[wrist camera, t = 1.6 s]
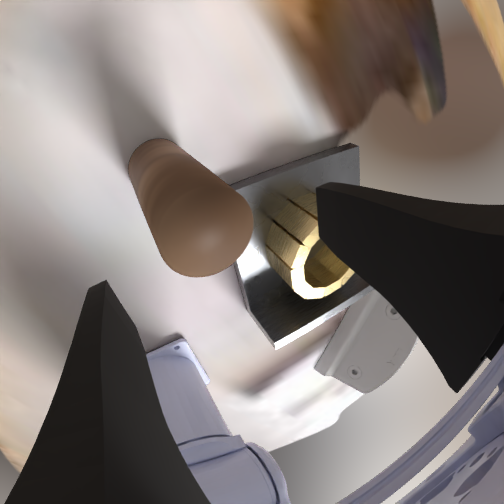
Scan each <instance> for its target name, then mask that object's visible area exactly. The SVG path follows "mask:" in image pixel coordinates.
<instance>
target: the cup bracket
mask: <svg viewBox="0 0 504 504" xmlns="http://www.w3.org/2000/svg"><path fill="white" fill-rule="evenodd" d="M328 182H338V183H346V184H352V185H357V186H360V169H359V146H357V145H355V144H352V143H349V144H345V145H342V146H339V147H336V148H333V149H330V150H327V151H324V152H321V153H318V154H315V155H312V156H309V157H306V158H303V159H300V160H297V161H294V162H291V163H288V164H286V165H283V166H280V167H277V168H274V169H272V170H269V171H266V172H263V173H261V174H258V175H255V176H253V177H250V178H247V179H245V180H242V181H240V182H237V183H234V184H232V185H229V186H230V187H232V188H233V189H234V190H235V191H237V192H238V193H239V194H240V195H242V196H243V197H244V199H245V200H246V201H247V202H248V204H249V206H250V208H251V211H252V214H253V232H252V236H251V239H250V242H249V244H248V246H247V248H246V249H245V251H244V252H243V254H242V255H241V256H240V257H239V258H238V259H237V260H236V261H235V262H234V266H235V270H236V273H237V277H238V280H239V284H240V287H241V291H242V294H243V298H244V301H245V305H246V308H247V311H248V313H249V314H250V316H251V317H252V318H253V320H254V321H255V322H256V324H257V325H258V327H259V328H260V329H261V331H262V332H263V333H264V335H265V336H266V337H267V339H268V340H269V341H270V343H271V344H272V345H273V347H274V348H275V350H277V349H279V348H280V347H282V346H284V345H286V344H288V343H289V342H291V341H293V340H295V339H296V338H298V337H300V336H301V335H303V334H305V333H306V332H308V331H310V330H312V329H313V328H315V327H317V326H318V325H320V324H321V323H323V322H325V321H326V320H328V319H330V318H331V317H333V316H334V315H336V314H338V313H339V312H341V311H342V310H344V309H345V308H347V307H349V306H350V305H352V304H353V303H355V302H356V301H358V300H359V299H361V298H362V297H364V296H365V295H367V294H368V293H370V292H371V291H373V290H374V288H373V287H372V286H370V285H369V284H368V283H367V282H366V281H365V280H363V279H362V278H361V277H360V276H359V275H358V274H356V273H355V272H354V271H353V270H352V269H350V268H349V267H348V266H347V265H346V264H345V263H343V262H342V261H341V260H340V259H339V258H338V257H337V256H336V255H335V254H334V253H333V252H332V251H331V250H330V249H329V248H328V247H327V246H326V244H325V243H324V242H323V241H322V240H321V239H320V238H319V233H318V216H317V201H316V187H318V186H321V185H323V184H326V183H328Z"/></svg>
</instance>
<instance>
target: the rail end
mask: <svg viewBox="0 0 504 504" xmlns="http://www.w3.org/2000/svg"><path fill="white" fill-rule="evenodd" d="M128 172H129V177H130V180H131V183H132V185H133V188H134V190H135V193H136V196H137V198H138V201H139V203H140V206H141V208H142V211H143V213H144V216H145V218H146V221H147V223H148V226H149V228H150V231H151V233H152V235H153V238H154V240H155V242H156V245H157V247H158V249H159V252H160V254H161V256H162V258H163V260H164V261H165V263H166V264H167V265H168V266H169V267H170V268H171V269H172V270H174V271H175V272H177V273H179V274H181V275H184V276H189V277H205V276H210V275H213V274H216V273H219V272H221V271H223V270H224V269H226V268H228V267H229V266H231V265H232V264H233V263H234V262H235V261H236V260H237V259H238V258H239V257H240V256H241V255H242V254H243V252H244V251H245V249H246V248H247V246H248V244H249V242H250V239H251V236H252V232H253V214H252V211H251V208H250V206H249V204H248V202H247V201H246V200H245V199H244V197H243V196H242V195H240V194H239V193H238V192H237V191H235V190H234V189H233V188H232V187H230V186H229V185H228V184H226V183H225V182H224V181H223V180H221V179H220V178H219V177H218V176H216V175H215V174H214V173H212V172H211V171H210V170H209V169H207V168H206V167H205V166H203V165H202V164H201V163H200V162H198V161H197V160H196V159H194V158H193V157H192V156H191V155H189V154H188V153H187V152H185V151H184V150H183V149H181V148H180V147H179V146H177V145H176V144H175V143H173V142H172V141H169V140H166V139H152V140H149V141H146V142H144V143H143V144H141V145H140V146H139V147H138V148H137V149H136V150H135V151H134V153H133V154H132V156H131V158H130V161H129V167H128Z"/></svg>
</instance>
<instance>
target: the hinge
mask: <svg viewBox="0 0 504 504" xmlns="http://www.w3.org/2000/svg"><path fill="white" fill-rule="evenodd" d="M418 339H419V338H418V336H417V335H416V334H415V332H414V331H413V330H412V329H411V327H410V326H409V325H408V324H407V322H406V321H405V320H404V319H403V318H402V316H401V315H400V314H399V313H398V312H397V311H396V310H395V309H394V307H393V306H392V305H391V304H390V303H389V302H388V301H387V300H386V299H385V298H384V297H383V296H382V295H381V294H380V293H379V292H377V291H376V290H375V289H374V290H373V291H371V292H370V293H368V294H367V295H365V296H364V297H362V298H361V299H359V300H358V301H356V302H355V303H353V304H352V305H350V307H349V308H348V310H347V312H346V314H345V316H344V318H343V320H342V321H341V323H340V325H339V327H338V329H337V330H336V332H335V334H334V336H333V337H332V339H331V341H330V343H329V344H328V346H327V348H326V349H325V351H324V353H323V354H322V356H321V358H320V359H319V361H318V363H317V364H316V366H315V368H314V369H315V370H316V371H318V372H319V373H321V374H322V375H324V376H332V377H334V378H336V379H338V380H340V381H342V382H343V383H345V384H347V385H349V386H351V387H352V388H354V389H356V390H358V391H360V392H362V393H369V392H371V391H373V390H374V389H376V388H378V387H379V386H380V385H382V384H383V383H385V382H386V381H387V380H389V379H390V378H391V377H392V376H393V375H394V374H395V373H396V372H397V371H398V370H399V369H400V368H401V367H402V365H403V364H404V363H405V362H406V360H407V359H408V357H409V356H410V354H411V353H412V351H413V349H414V347H415V345H416V343H417V341H418Z"/></svg>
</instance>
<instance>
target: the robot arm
mask: <svg viewBox="0 0 504 504" xmlns="http://www.w3.org/2000/svg"><path fill="white" fill-rule="evenodd" d="M316 201H317V216H318V233H319V238H320V239H321V240H322V241H323V242H324V243H325V244H326V246H327V247H328V248H329V249H330V250H331V251H332V252H333V253H334V254H335V255H336V256H337V257H338V258H339V259H340V260H341V261H342V262H343V263H345V264H346V265H347V266H348V267H349V268H350V269H352V270H353V271H354V272H355V273H356V274H358V275H359V276H360V277H361V278H362V279H363V280H365V281H366V282H367V283H368V284H369V285H370V286H372V287H373V288H374V289H375V290H376V291H377V292H379V293H380V294H381V295H382V296H383V297H384V298H385V299H386V300H387V301H388V302H389V303H390V304H391V305H392V306H393V307H394V309H395V310H396V311H397V312H398V313H399V314H400V315H401V316H402V318H403V319H404V320H405V321H406V322H407V324H408V325H409V326H410V327H411V329H412V330H413V331H414V332H415V334H416V335H417V336H418V338H419V339H420V340H421V342H422V343H423V345H424V346H425V347H426V349H427V350H428V352H429V353H430V355H431V356H432V357H433V359H434V361H435V362H436V364H437V366H438V367H439V369H440V370H441V372H442V374H443V376H444V378H445V379H446V381H447V383H448V385H449V386H450V388H452V389H453V390H454V391H455V392H456V393H458V392H459V390H461V388H462V387H463V386H464V385H465V384H466V383H467V382H468V380H469V379H470V378H471V377H472V376H473V374H474V373H475V372H476V371H477V370H478V368H479V367H480V366H481V364H482V363H483V362H484V361H485V359H486V358H489V359H490V360H491V362H490V363H489V365H488V366H487V367H486V368H485V370H484V371H483V372H482V374H481V375H480V376H479V377H478V379H477V380H476V381H475V382H474V383H473V385H472V386H471V387H470V388H469V389H468V391H467V392H466V393H465V394H464V395H463V396H462V398H461V399H460V400H459V401H458V402H457V403H456V404H455V405H454V406H453V407H452V408H451V410H450V411H449V412H448V413H447V414H446V415H445V416H444V417H443V418H442V419H441V420H440V421H439V422H438V423H437V424H436V425H435V426H434V427H433V428H432V429H431V430H430V431H429V432H428V433H427V434H426V435H425V436H424V437H422V439H420V440H419V441H418V442H417V443H416V444H415V445H414V446H412V447H411V448H410V449H409V450H408V451H407V452H406V453H404V454H403V455H402V456H401V457H400V458H398V459H397V460H396V461H395V462H394V463H392V464H391V465H390V466H389V467H387V468H386V469H385V470H383V471H382V472H381V473H379V474H378V475H377V476H376V477H374V478H373V479H371V480H370V481H369V482H367V483H366V484H364V485H363V486H362V487H360V488H359V489H357V490H356V491H354V492H353V493H351V494H350V495H348V496H347V497H345V498H344V499H342V500H341V501H339V502H337V503H336V504H380V503H382V502H383V501H384V500H385V499H387V498H388V497H389V496H391V495H392V494H393V493H395V492H396V491H397V490H398V489H400V488H401V487H402V486H403V485H405V484H406V483H407V482H408V481H409V480H410V479H412V478H413V477H414V476H415V475H416V474H417V473H419V472H420V471H421V470H422V469H423V468H424V467H425V466H426V465H427V464H428V463H429V462H430V461H432V460H433V459H434V458H435V457H436V456H437V455H438V454H439V453H440V452H441V451H442V450H443V449H444V448H445V447H446V446H447V445H448V444H449V443H450V442H451V441H452V440H453V438H454V437H455V436H456V435H457V434H458V433H459V432H460V431H461V430H462V429H463V427H464V426H465V425H466V424H467V423H468V422H469V421H470V419H471V418H472V417H473V416H474V414H476V412H477V411H478V410H479V409H480V407H481V406H482V405H483V404H484V402H485V401H486V400H487V398H488V397H489V396H490V394H491V393H492V392H493V390H494V389H495V388H496V386H497V385H498V387H499V391H498V392H497V394H496V395H495V396H494V397H493V398H492V399H491V400H490V401H489V402H488V403H487V404H486V405H485V406H484V408H483V409H482V410H481V411H480V412H479V413H478V414H477V416H476V417H475V419H474V420H473V422H472V423H471V424H470V426H469V428H468V432H469V433H470V434H471V436H470V438H469V439H468V440H467V441H466V442H465V443H464V444H463V445H462V446H461V447H460V448H459V449H458V450H457V451H456V452H455V453H454V454H453V455H452V456H451V457H450V458H449V459H448V460H447V461H446V462H444V463H443V464H442V465H441V466H440V467H439V468H438V469H437V470H436V471H435V472H433V473H432V474H431V475H430V476H429V477H428V478H426V479H425V480H424V481H423V482H422V483H420V484H419V485H418V486H417V487H416V488H414V489H413V490H412V491H411V492H410V493H408V494H407V495H406V496H405V497H403V498H402V499H401V500H399V501H398V502H397V503H395V504H504V205H477V204H463V203H452V202H444V201H436V200H429V199H423V198H418V197H413V196H407V195H402V194H397V193H392V192H387V191H382V190H377V189H373V188H368V187H362V186H357V185H352V184H346V183H338V182H328V183H326V184H323V185H321V186H318V187H316ZM175 346H176V347H175ZM209 383H210V379H209V377H208V376H207V374H206V372H205V371H204V369H203V368H202V366H201V364H200V363H199V361H198V359H197V358H196V356H195V354H194V353H193V351H192V349H191V348H190V346H189V344H188V342H187V341H186V339H184V338H181V339H178V340H176V341H174V342H172V343H169V344H167V345H165V346H163V347H161V348H159V349H157V350H154V351H152V352H150V353H148V354H146V353H145V350H144V347H143V345H142V342H141V339H140V337H139V334H138V331H137V329H136V326H135V324H134V323H133V321H132V320H131V318H130V317H129V315H128V314H127V312H126V311H125V309H124V308H123V306H122V304H121V303H120V301H119V300H118V298H117V297H116V295H115V293H114V292H113V290H112V289H111V287H110V285H109V284H108V282H107V280H105V281H103V282H101V283H99V284H97V285H95V286H93V287H90V288H89V289H88V292H87V295H86V298H85V301H84V304H83V307H82V311H81V314H80V317H79V321H78V324H77V327H76V331H75V334H74V337H73V341H72V344H71V347H70V350H69V353H68V356H67V359H66V362H65V366H64V369H63V372H62V375H61V378H60V381H59V384H58V387H57V389H56V392H55V395H54V397H53V400H52V403H51V406H50V408H49V411H48V413H47V416H46V418H45V420H44V422H43V425H42V427H41V430H40V432H39V434H38V437H37V439H36V442H35V444H34V446H33V448H32V451H31V453H30V455H29V457H28V459H27V461H26V463H25V465H24V467H23V469H22V472H21V474H20V476H19V478H18V479H17V481H16V483H15V485H14V487H13V489H12V491H11V492H10V494H9V496H8V498H7V500H6V502H5V504H291V502H290V500H289V497H288V493H287V485H286V481H285V478H284V476H283V473H282V471H281V469H280V468H279V466H278V464H277V463H276V461H275V460H274V458H273V457H272V456H271V455H270V454H269V452H268V451H266V450H265V449H264V448H262V447H260V446H258V445H257V444H255V443H252V442H248V443H244V441H243V439H242V438H241V436H240V435H235V436H232V434H231V432H230V430H229V429H228V427H227V425H226V423H225V421H224V419H223V418H222V416H221V414H220V412H219V410H218V408H217V406H216V404H215V403H214V401H213V399H212V397H211V395H210V393H209V391H208V389H207V387H206V385H207V384H209Z"/></svg>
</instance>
